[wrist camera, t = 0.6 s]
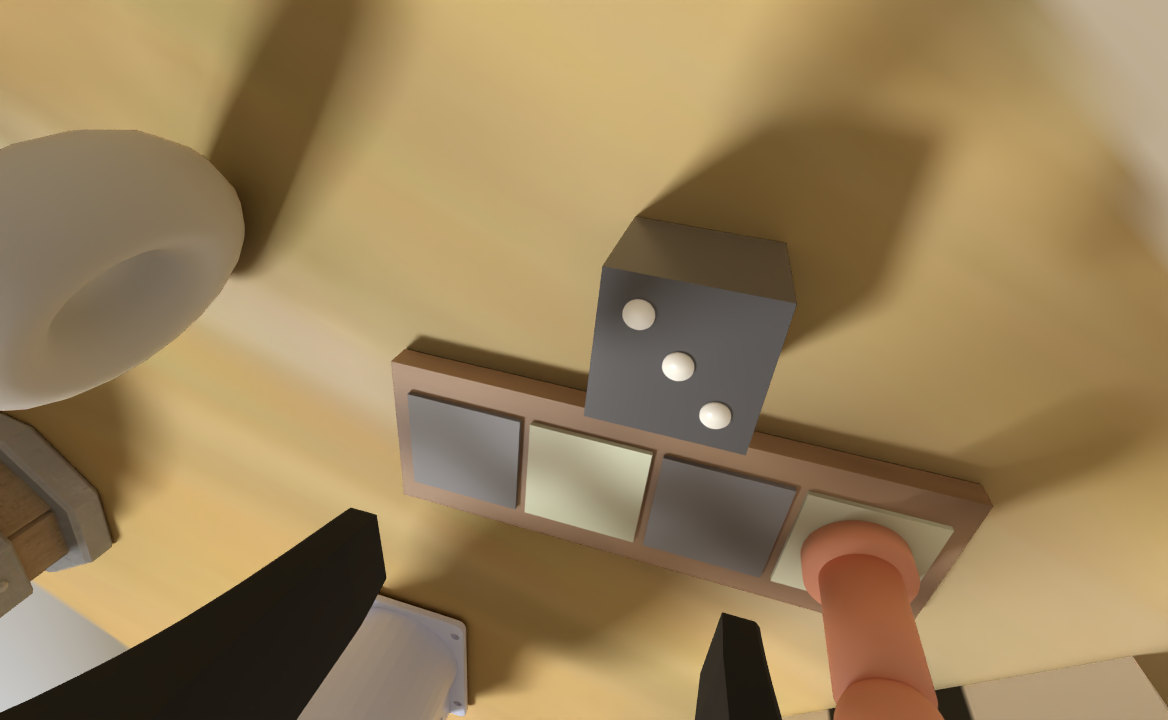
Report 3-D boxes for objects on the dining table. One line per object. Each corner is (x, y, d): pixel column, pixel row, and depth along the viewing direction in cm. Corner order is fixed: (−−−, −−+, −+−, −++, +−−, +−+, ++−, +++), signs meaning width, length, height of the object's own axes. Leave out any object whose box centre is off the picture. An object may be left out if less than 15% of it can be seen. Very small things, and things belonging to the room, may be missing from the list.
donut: (219, 85, 18) (-238, 121, 10) (304, 159, 19) (-59, 254, 10) (156, 284, 23) (-176, 417, 15) (224, 337, 24) (-60, 495, 16)
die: (748, 371, 18) (748, 457, 15) (616, 342, 19) (582, 417, 15) (788, 242, 16) (800, 305, 12) (635, 215, 17) (601, 267, 13)
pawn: (888, 604, 20) (951, 855, 14) (787, 576, 21) (804, 805, 14) (931, 537, 18) (1025, 793, 12) (818, 509, 19) (852, 738, 13)
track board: (897, 613, 22) (904, 640, 21) (415, 479, 25) (401, 497, 24) (981, 484, 18) (995, 510, 17) (405, 348, 22) (388, 363, 21)
